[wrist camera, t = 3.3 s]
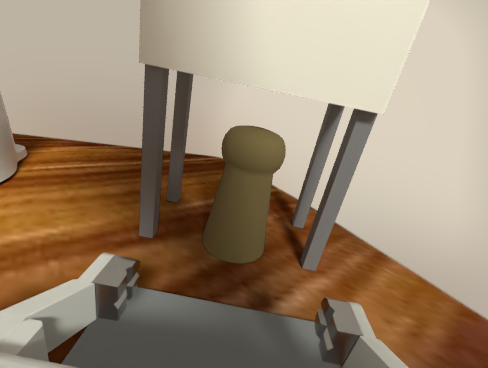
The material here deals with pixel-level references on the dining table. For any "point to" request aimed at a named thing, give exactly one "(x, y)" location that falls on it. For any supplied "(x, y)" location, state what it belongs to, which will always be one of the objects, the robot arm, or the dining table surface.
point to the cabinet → (274, 80)
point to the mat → (195, 337)
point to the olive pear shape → (243, 194)
